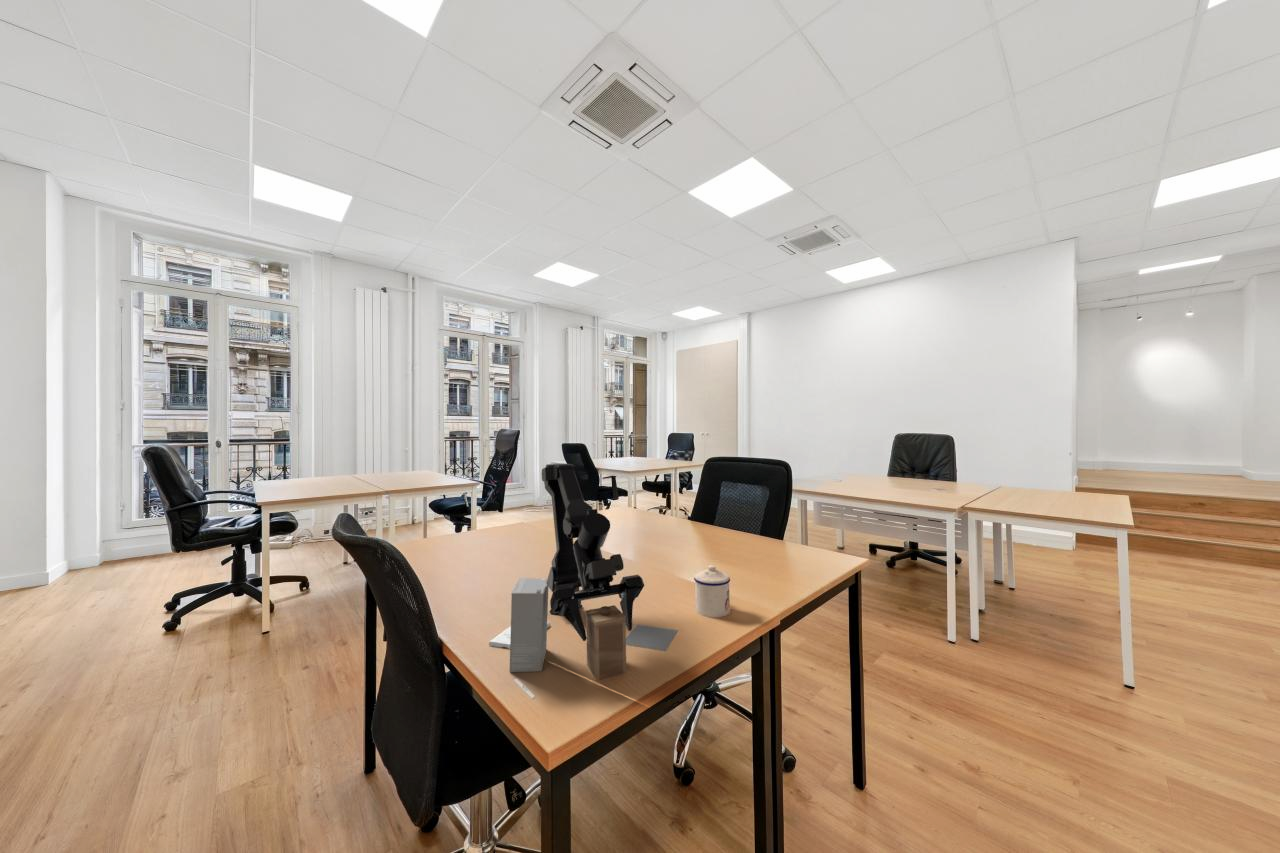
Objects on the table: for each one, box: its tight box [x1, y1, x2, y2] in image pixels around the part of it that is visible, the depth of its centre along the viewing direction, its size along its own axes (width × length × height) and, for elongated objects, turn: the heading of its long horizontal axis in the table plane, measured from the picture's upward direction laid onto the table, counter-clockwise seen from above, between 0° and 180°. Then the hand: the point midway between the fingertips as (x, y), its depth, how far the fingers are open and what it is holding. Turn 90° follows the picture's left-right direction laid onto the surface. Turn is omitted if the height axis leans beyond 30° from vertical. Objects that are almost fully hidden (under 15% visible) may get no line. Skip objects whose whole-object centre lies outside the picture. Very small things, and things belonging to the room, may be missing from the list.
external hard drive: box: [488, 621, 551, 650], centre depth 100 cm, size 2×8×12 cm
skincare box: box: [509, 577, 549, 673], centre depth 88 cm, size 8×7×16 cm
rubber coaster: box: [626, 623, 679, 652], centre depth 97 cm, size 10×10×1 cm
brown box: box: [585, 604, 627, 681], centre depth 84 cm, size 6×6×12 cm
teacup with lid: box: [693, 564, 731, 619], centre depth 112 cm, size 12×9×12 cm
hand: (608, 635), depth 83 cm, fingers open, 9 cm apart
